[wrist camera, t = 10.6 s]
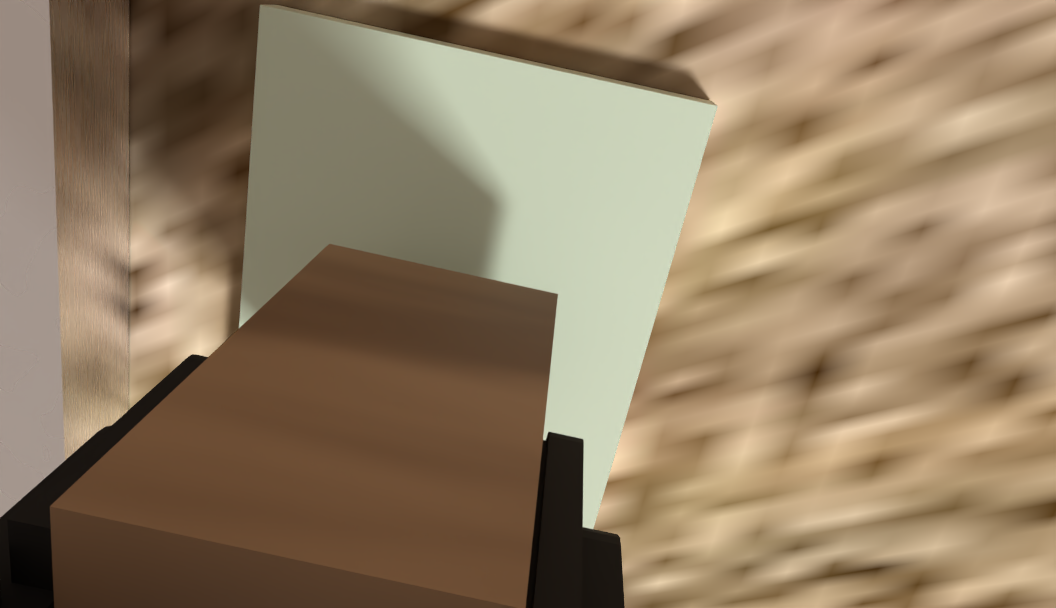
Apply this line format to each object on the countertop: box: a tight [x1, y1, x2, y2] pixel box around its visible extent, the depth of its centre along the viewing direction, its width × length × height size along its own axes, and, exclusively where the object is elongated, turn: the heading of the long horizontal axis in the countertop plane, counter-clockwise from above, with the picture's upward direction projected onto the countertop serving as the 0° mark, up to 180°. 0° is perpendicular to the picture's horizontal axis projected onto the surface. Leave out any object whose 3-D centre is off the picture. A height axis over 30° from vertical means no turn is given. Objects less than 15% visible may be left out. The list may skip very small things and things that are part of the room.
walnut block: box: [50, 244, 558, 608], centre depth 11 cm, size 4×4×8 cm
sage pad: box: [239, 5, 717, 529], centre depth 17 cm, size 12×9×1 cm
